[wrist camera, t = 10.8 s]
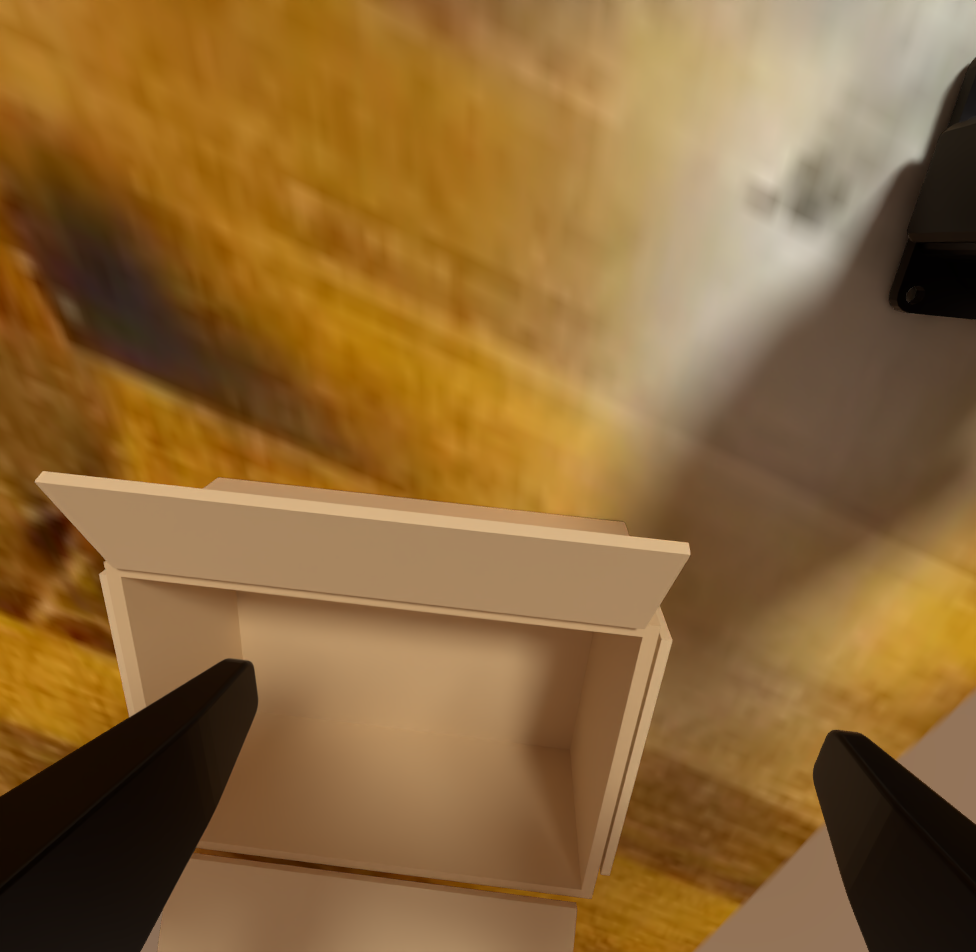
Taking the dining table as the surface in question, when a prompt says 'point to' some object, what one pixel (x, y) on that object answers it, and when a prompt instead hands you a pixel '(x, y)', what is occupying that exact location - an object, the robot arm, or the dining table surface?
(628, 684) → the carton
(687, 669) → the dining table surface
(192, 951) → the flap camera side
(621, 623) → the tan cardboard box flap
